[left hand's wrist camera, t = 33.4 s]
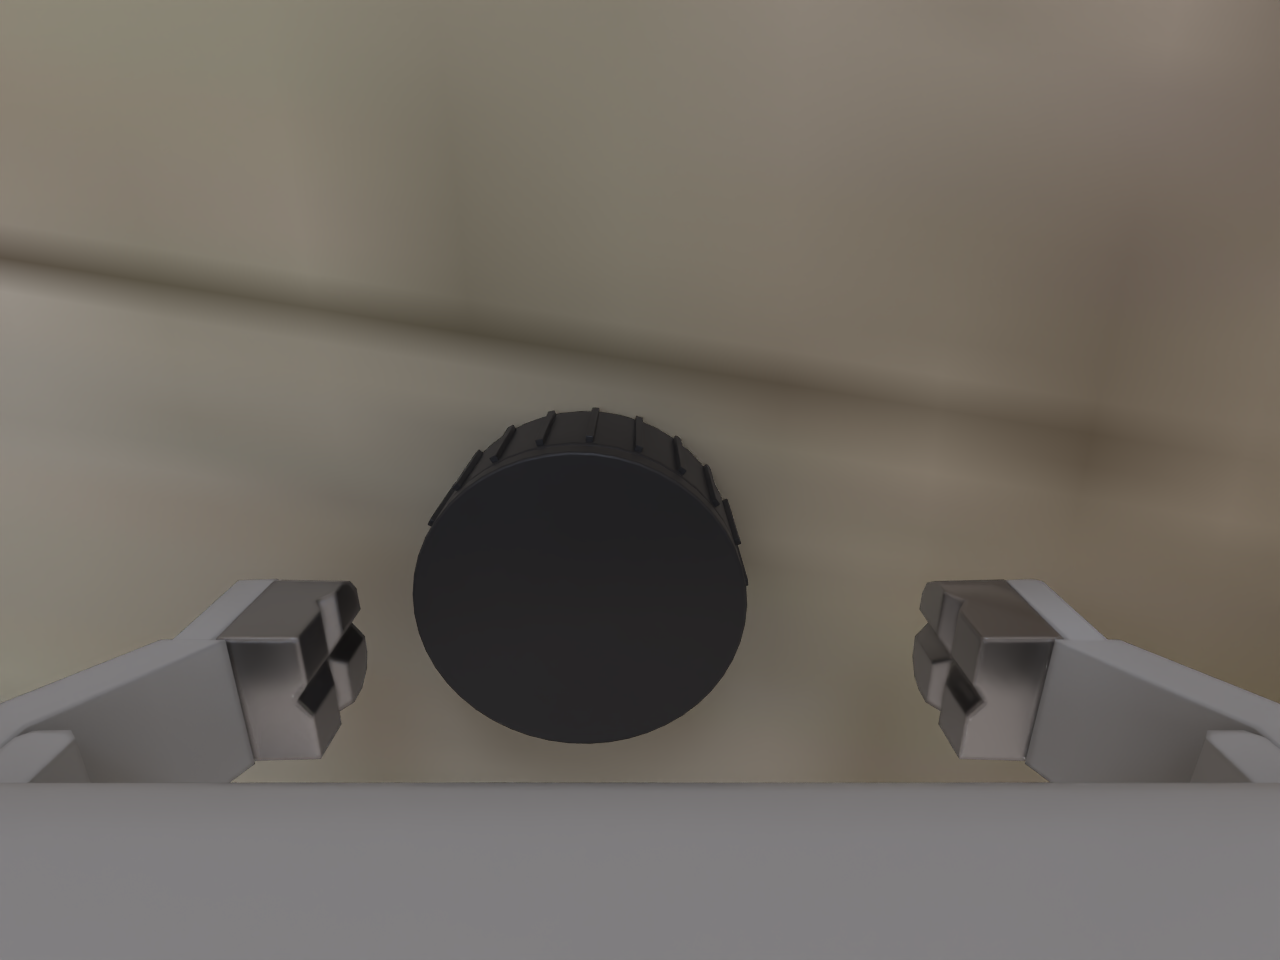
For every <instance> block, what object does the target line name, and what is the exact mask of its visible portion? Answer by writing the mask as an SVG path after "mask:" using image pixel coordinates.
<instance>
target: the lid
mask: <svg viewBox="0 0 1280 960" xmlns="http://www.w3.org/2000/svg"><path fill="white" fill-rule="evenodd" d="M428 525H429V526H432V527H431V528H430V530H429V532H428V534H427V535H426V537H425V539H424V542H423V545H422V547H421V550H420V552H419V555H418V559H417V563H416V568H415V572H414V582H413V604H414V614H415V618H416V622H417V627H418V631H419V634H420V637H421V639H422V642H423V644H424V647H425V649H426V652H427V653H428V655H429V657H430V659H431V660H432V662H433V664H434V666H435V668H436V669H437V670H438V672H439V673H440V674H441V676H442V677H443V678H444V680H445V681H446V682H447V683H448V684H449V685H450V687H451V688H452V689H453V690H454V691H455V692H456V693H457V694H458V695H459V696H460V697H461V698H463V699H464V700H465V701H466V702H467V703H469V704H470V705H471V706H472V707H474V708H475V709H476V710H478V711H479V712H481V713H482V714H484V715H486V716H487V717H489V718H490V719H492V720H494V721H496V722H498V723H500V724H502V725H504V726H506V727H508V728H510V729H513V730H515V731H518V732H521V733H524V734H526V735H529V736H533V737H537V738H541V739H545V740H550V741H557V742H565V743H584V744H591V743H604V742H612V741H618V740H623V739H629V738H632V737H635V736H639V735H642V734H645V733H648V732H651V731H653V730H655V729H658V728H660V727H662V726H665V725H667V724H668V723H670V722H672V721H674V720H675V719H677V718H679V717H681V716H682V715H684V714H685V713H686V712H688V711H689V710H690V709H692V708H693V707H694V706H696V705H697V704H698V703H699V702H700V701H701V700H702V699H703V698H704V697H705V696H706V695H708V694H709V693H710V692H711V691H712V689H713V688H714V687H715V686H716V684H717V683H718V682H719V681H720V679H721V678H722V677H723V675H724V674H725V672H726V670H727V669H728V667H729V665H730V664H731V662H732V660H733V658H734V656H735V653H736V651H737V649H738V646H739V644H740V641H741V637H742V634H743V630H744V626H745V619H746V610H747V594H746V586H748V578H747V575H746V572H745V568H744V565H743V561H742V558H741V555H740V551H739V548H738V545H739V544H741V541H740V538H739V535H738V532H737V529H736V525H735V522H734V519H733V516H732V512H731V509H730V506H729V503H728V500H727V499H725V500H722V498H721V495H720V493H719V491H718V489H717V487H716V485H715V483H714V480H713V476H712V473H711V469H710V467H709V466H708V465H707V464H706V465H705V466H702V464H701V463H700V462H699V461H698V460H697V459H696V458H695V457H694V456H693V455H692V454H691V453H690V451H689V450H687V449H686V448H685V447H684V446H682V442H681V439H680V438H679V437H678V436H675V437H674V438H672V437H670V436H669V435H667V434H665V433H664V432H662V431H660V430H659V429H657V428H655V427H652V426H650V425H648V424H646V423H643V418H641V417H639V416H636V418H635V419H632V418H628V417H625V416H622V415H616V414H610V413H604V412H599V408H592V412H587V411H579V412H568V413H560V414H555V411H549V412H548V414H547V416H546V417H542V418H540V419H537V420H534V421H531V422H529V423H526V424H524V425H522V426H520V427H518V428H515V427H514V425H512V426H510V427H508V428H507V430H506V432H505V433H504V435H503V437H501V438H500V439H498V440H497V441H496V442H494V443H493V444H492V445H491V446H490V447H489V448H487V449H486V450H485V451H484V452H481V451H480V450H478V451H477V452H476V453H475V455H474V456H473V458H472V459H471V461H470V462H469V464H468V465H467V467H466V468H465V469H464V471H463V472H462V474H461V475H460V477H459V478H458V480H457V481H456V482H455V483H454V485H453V486H452V488H451V489H450V491H449V492H448V494H447V495H446V497H445V498H444V500H443V501H442V503H441V504H440V505H439V507H438V508H437V510H436V511H435V513H434V514H433V516H432V517H431V519H430V521H429V523H428Z"/></svg>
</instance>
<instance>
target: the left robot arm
mask: <svg viewBox="0 0 1280 960" xmlns="http://www.w3.org/2000/svg"><path fill="white" fill-rule="evenodd" d="M359 611H360V604H359V599H358V594H357V589H356V587H355V586H354V585H353V584H352V583H351V582H350V581H324V580H278V579H257V580H240V581H237V582H236V583H235V584H234V585H233V586H232V587H231V588H229V589H228V590H227V591H226V592H225V593H224V594H223V595H222V596H221V597H219V598H218V599H217V600H216V601H215V602H214V603H213V604H212V605H211V606H209V607H208V608H207V609H206V610H205V611H204V612H203V613H202V614H200V615H199V616H198V617H197V618H196V619H195V620H194V621H193V622H192V623H190V624H189V625H188V626H187V627H186V628H185V629H184V630H183V631H182V632H180V633H179V634H178V635H177V636H176V637H175V638H174V639H173V640H159V641H156V642H154V643H151V644H149V645H146V646H144V647H141V648H139V649H136V650H133V651H131V652H128V653H126V654H123V655H121V656H118V657H116V658H113V659H111V660H108V661H106V662H103V663H101V664H98V665H96V666H93V667H91V668H88V669H86V670H83V671H81V672H78V673H76V674H73V675H71V676H68V677H66V678H63V679H61V680H58V681H56V682H53V683H51V684H48V685H46V686H43V687H41V688H38V689H35V690H33V691H30V692H28V693H25V694H23V695H20V696H18V697H15V698H13V699H10V700H8V701H5V702H3V703H0V960H1280V704H1279V703H1277V702H1274V701H1272V700H1269V699H1267V698H1264V697H1262V696H1259V695H1257V694H1254V693H1252V692H1249V691H1247V690H1244V689H1242V688H1239V687H1237V686H1234V685H1232V684H1229V683H1227V682H1224V681H1222V680H1219V679H1217V678H1214V677H1212V676H1209V675H1207V674H1204V673H1202V672H1199V671H1197V670H1194V669H1192V668H1189V667H1187V666H1184V665H1182V664H1179V663H1177V662H1174V661H1172V660H1169V659H1166V658H1164V657H1161V656H1159V655H1156V654H1154V653H1151V652H1149V651H1146V650H1144V649H1141V648H1139V647H1136V646H1134V645H1131V644H1129V643H1126V642H1124V641H1121V640H1107V639H1106V638H1105V637H1104V636H1103V635H1102V634H1101V633H1100V632H1098V631H1097V630H1096V629H1095V628H1094V627H1093V626H1092V625H1091V624H1090V623H1089V622H1087V621H1086V620H1085V619H1084V618H1083V617H1082V616H1081V615H1080V614H1079V613H1077V612H1076V611H1075V610H1074V609H1073V608H1072V607H1071V606H1070V605H1069V604H1067V603H1066V602H1065V601H1064V600H1063V599H1062V598H1061V597H1060V596H1059V595H1057V594H1056V593H1055V592H1054V591H1053V590H1052V589H1051V588H1050V587H1049V586H1047V585H1046V584H1045V583H1044V582H1043V581H1040V580H1036V579H1017V580H962V581H934V582H928V583H927V584H926V586H925V588H924V591H923V593H922V597H921V603H920V611H921V612H922V614H923V615H924V617H925V618H926V620H927V622H928V623H927V624H926V625H925V626H924V628H923V629H922V630H921V631H920V632H919V633H918V634H917V635H916V636H915V641H914V649H913V666H914V676H915V679H916V683H917V686H918V689H919V691H920V693H921V695H922V696H923V698H924V700H925V702H926V703H928V704H930V705H931V706H933V707H935V708H936V709H938V710H939V711H941V712H940V718H939V726H940V727H941V729H942V731H943V732H944V734H945V736H946V737H947V739H948V741H949V742H950V744H951V746H952V748H953V749H954V751H955V753H956V754H957V756H958V758H959V759H982V760H1019V761H1025V764H1026V765H1028V766H1029V767H1030V768H1032V769H1033V770H1034V771H1036V772H1037V773H1039V774H1040V775H1041V776H1043V777H1044V778H1045V779H1047V780H1048V781H1049V782H1051V783H230V782H231V781H232V780H234V779H235V778H236V777H238V776H239V775H240V774H242V773H243V772H244V771H246V770H247V769H248V768H250V767H251V766H253V765H254V764H255V762H254V761H260V760H296V759H321V758H322V756H323V754H324V753H325V751H326V749H327V748H328V746H329V744H330V743H331V741H332V739H333V737H334V736H335V734H336V732H337V731H338V729H339V727H340V726H341V718H340V712H339V711H341V710H342V709H344V708H345V707H347V706H349V705H350V704H352V703H354V702H355V700H356V698H357V696H358V694H359V693H360V691H361V689H362V686H363V682H364V678H365V674H366V670H367V647H366V640H365V636H364V635H363V634H362V633H361V632H360V631H359V630H358V629H357V628H356V626H355V625H354V624H353V623H352V622H353V620H354V618H355V617H356V615H357V614H358V612H359Z"/></svg>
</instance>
